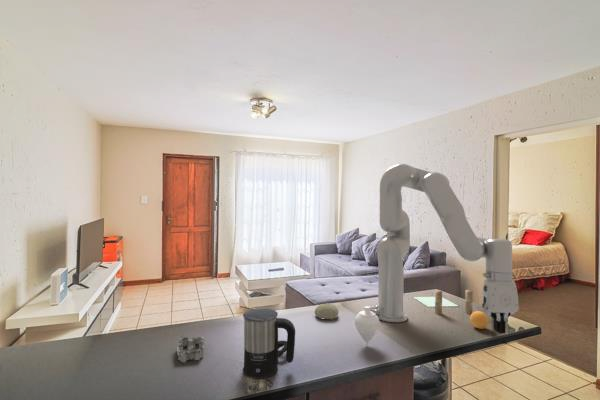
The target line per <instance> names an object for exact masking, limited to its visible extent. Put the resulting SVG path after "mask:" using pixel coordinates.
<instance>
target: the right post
mask: <svg viewBox="0 0 600 400" xmlns="http://www.w3.org/2000/svg"><path fill="white" fill-rule="evenodd" d="M473 294H474V292H473V290H471V289H465V293H464V295H465V301H464V302H465V304H464V305H465V307H464V309H465V311H464V312H465V313H466V314H469V315H471V314H472V313H473V305H474V304H473V301H474V300H473V299H474V298H473Z"/></svg>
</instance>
